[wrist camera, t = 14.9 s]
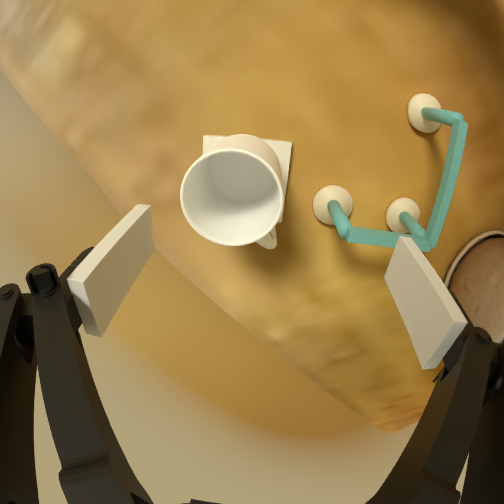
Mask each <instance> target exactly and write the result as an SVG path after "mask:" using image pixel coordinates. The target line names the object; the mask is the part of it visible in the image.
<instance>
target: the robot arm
mask: <svg viewBox="0 0 504 504" xmlns="http://www.w3.org/2000/svg"><path fill="white" fill-rule="evenodd" d="M153 252H154V245H153V233H152V220H151V205H138V204H137V205H136V206H135V207H134V208H133V209H132V210H131V211H130V212H129V213H128V214H127V215H126V216H125V217H124V218H123V219H122V220H121V221H120V222H119V223H118V224H117V225H116V226H115V227H114V228H113V229H112V230H111V231H110V232H109V233H108V234H107V235H106V236H105V238H103V239H102V240H101V242H100V243H99V244H98V245H97V246H96V247H90V248H88V249H87V250H85V251H83V252H82V253H81V254H80V255H79V256H78V257H77V258H76V260H74V261H73V262H72V263H71V265H70V266H69V267H68V268H67V269H66V270H65V271H64V272H63V273H62V275H61V276H60V277H59V278H58V274H57V271H56V268H55V266H54V265H52V264H47V263H45V264H40V265H38V266H35V267H34V268H32V269H31V270H30V271H29V272H28V273H27V275H26V281H27V284H28V286H29V289H30V291H31V293H24V294H22V293H21V291H20V288H19V286H18V285H17V284H6V285H4V286H2V287H1V288H0V504H39V499H38V488H37V480H36V470H35V458H34V430H33V429H34V395H35V381H36V371H37V365H38V371H39V377H40V384H41V389H42V394H43V400H44V404H45V409H46V413H47V417H48V421H49V425H50V429H51V432H52V436H53V439H54V443H55V447H56V450H57V453H58V456H59V459H60V462H61V466H62V470H61V471H60V472H59V481H60V484H61V487H62V490H63V492H64V495H65V497H66V500H67V502H68V504H154V503H153V502H152V500H151V498H150V497H149V496H148V494H147V492H146V491H145V489H144V488H143V487H142V485H141V484H140V483H139V481H138V480H137V478H136V476H135V475H134V473H133V471H132V469H131V467H130V466H129V463H128V462H127V459H126V457H125V455H124V453H123V451H122V449H121V447H120V445H119V443H118V441H117V438H116V436H115V434H114V432H113V429H112V427H111V425H110V423H109V420H108V418H107V415H106V413H105V410H104V408H103V405H102V402H101V400H100V397H99V394H98V392H97V389H96V386H95V383H94V380H93V377H92V374H91V371H90V368H89V365H88V362H87V358H86V355H85V351H84V348H83V344H82V340H81V337H80V334H79V331H78V329H79V327H80V326H81V324H83V327H84V329H85V331H86V333H87V334H91V335H94V336H98V337H102V335H103V333H104V332H105V330H106V328H107V327H108V325H109V323H110V321H111V320H112V317H113V316H114V314H115V313H116V311H117V309H118V308H119V306H120V304H121V303H122V301H123V299H124V298H125V296H126V294H127V293H128V291H129V289H130V288H131V286H132V285H133V283H134V281H135V280H136V278H137V276H138V275H139V273H140V272H141V270H142V269H143V267H144V266H145V264H146V263H147V261H148V260H149V258H150V257H151V255H152V253H153ZM384 279H385V281H386V283H387V285H388V288H389V290H390V292H391V294H392V296H393V299H394V301H395V303H396V305H397V308H398V310H399V312H400V315H401V317H402V319H403V322H404V324H405V326H406V329H407V331H408V334H409V336H410V339H411V341H412V344H413V346H414V349H415V352H416V354H417V357H418V360H419V362H420V365H421V368H422V369H434V368H436V367H437V366H438V364H439V363H440V362H441V360H442V359H443V361H444V364H445V366H444V367H443V369H442V370H441V371H440V372H439V374H438V375H437V376H436V377H435V379H434V380H433V381H432V382H435V381H436V380H437V382H436V385H435V387H434V390H433V392H432V394H431V397H430V399H429V401H428V403H427V406H426V408H425V410H424V412H423V414H422V416H421V418H420V420H419V423H418V425H417V427H416V429H415V430H414V433H413V435H412V436H411V438H410V440H409V442H408V444H407V445H406V447H405V449H404V451H403V453H402V454H401V456H400V458H399V459H398V461H397V463H396V464H395V466H394V468H393V469H392V471H391V472H390V474H389V475H388V477H387V479H386V480H385V482H384V483H383V484H382V486H381V487H380V489H379V490H378V492H377V493H376V494H375V495H374V496H373V497H372V498H371V499H370V500H369V501H367V502H366V503H365V504H458V503H459V500H460V504H504V340H503V341H502V343H501V344H500V343H496V342H493V340H492V338H491V336H490V334H489V333H488V332H487V331H486V330H484V329H483V328H481V327H476V326H475V327H474V325H473V324H472V322H471V320H470V319H469V317H468V315H467V314H466V312H465V310H464V309H463V308H462V305H461V304H460V302H459V301H458V299H457V297H456V296H455V294H454V293H453V292H452V291H451V290H450V289H449V288H447V287H446V286H445V285H444V283H443V282H442V280H441V279H440V277H439V276H438V274H437V273H436V272H435V270H434V269H433V267H432V266H431V264H430V263H429V262H428V260H427V259H426V257H425V256H424V255H423V253H422V252H421V251H420V249H419V248H418V246H417V245H416V244H415V242H414V241H413V240H412V239H411V238H410V237H405V236H399V238H398V241H397V243H396V246H395V249H394V252H393V255H392V257H391V260H390V263H389V265H388V268H387V271H386V273H385V276H384ZM501 380H502V383H501V386H500V388H499V389H498V383H499V382H500V381H501ZM468 453H469V457H468V465H467V471H466V476H465V481H464V486H463V491H462V495H460V492H459V491H458V490H456V484H457V482H458V479H459V477H460V474H461V472H462V469H463V467H464V464H465V462H466V459H467V456H468ZM460 497H461V499H460ZM183 504H219V503H212V502H206V501H199V500H193V499H191V501H190V503H183Z"/></svg>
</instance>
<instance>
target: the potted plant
mask: <svg viewBox="0 0 504 504" xmlns="http://www.w3.org/2000/svg"><path fill="white" fill-rule="evenodd" d="M444 285H445V286H446V287H447V288H449V289H450V290H451V291H452V292H453V293H454V294H455V296H456V297H457V299H458V301H459V302H460V304H461V305H462V308H463V309H464V310H465V312H466V314H467V315H468V317H469V319H470V320H471V322H472V324H473V325H474V327H475V326H476V327H481V328H483V329H484V330H486V331H487V332H488V333H489V334H490V336H491V338H492V340H493V342H496V343H500V344H501V343H502V341H503V340H504V232H503V231H502V230H490V231H486V232H483V233H480V234H479V235H477V236H475V237H474V238H472V239H471V240H470V241H469V242H467V243H466V245H465V246H464V247H463V248H462V249H461V250H460V251H459V252H458V253H457V255H456V257H455V258H454V260H453V261H452V263H451V265H450V267H449V269H448V271H447V274H446V277H445V282H444ZM501 383H502V380H501V381H500V382H499V383H498V389H499V388H500V386H501Z"/></svg>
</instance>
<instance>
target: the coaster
mask: <svg viewBox="0 0 504 504" xmlns="http://www.w3.org/2000/svg"><path fill="white" fill-rule="evenodd" d="M226 137H229V136H219V135H204V139H203V154H205V153H206V152H207V151H208V150H209V149H210V148H212V147H213V146H214V145H215V144H216V143H218V142H219V141H221V140H222V139H224V138H226ZM260 139H261V138H260ZM262 140H263V141H265V142H266V143H267V144H268V145H269V146H270V147H271V148H272V149H273V150H274V152H275V153H276V155H277V157H278V160H279V163H280V169H281V177H282V186H283V194H284V203H285V195H286V187H287V179H288V171H289V163H290V155H291V146H292V142H289V141H281V140H271V139H262ZM284 203H283V209H282V213H281V216H280V218H279V220H278V222H279V223H282V218H283V210H284Z"/></svg>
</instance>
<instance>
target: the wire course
mask: <svg viewBox="0 0 504 504" xmlns="http://www.w3.org/2000/svg"><path fill="white" fill-rule="evenodd" d="M407 117H408V120H409V122H410V123H411V125H412V126H413V127H414V128H415V129H417V130H419V131H421V132H425V133H431V132H434V131H435V130H437V129H438V128H439V126H440V124H441V123H442V124H446V125H450V126H452V130H451V136H450V141H449V146H448V151H447V156H446V161H445V165H444V170H443V174H442V178H441V182H440V186H439V190H438V193H437V197H436V200H435V204H434V207H433V211H432V214H431V217H430V221H429V224H428V227H427V230H426V231H425V230H424V229H423V228H422V227H421V226H420V225H419V224H418V221H419V218H420V210H419V207H418V205H417V204H416V203H415V202H414V201H413V200H412V199H410V198H408V197H399V198H397V199H395V200H393V201H392V202H391V203H390V204H389V206H388V207H387V210H386V213H385V220H386V223H387V225H388V227H389V228H390V229H391V230H392V231H393V232H389V231H382V230H375V229H367V228H360V227H352V225H351V223H350V221H349V220H348V217H349V215H350V214H351V212H352V208H353V201H352V198H351V196H350V194H349V193H348V192H347V190H346V189H344V188H343V187H341V186H339V185H327V186H324V187H322V188H321V189H319V190H318V191H317V193H316V194H315V196H314V198H313V203H312V205H313V210H314V213H315V215H316V217H317V218H318V219H319V220H320V221H321V222H323V223H325V224H329V225H335V226H336V229H337V231H338V233H339V236H340V237H341V238H343V239H346V240H347V242H351V243H359V244H368V245H376V246H384V247H392V248H395V246H396V243H397V241H398V238H399V236H405V237H410V238H411V239H412V240H413V241H414V242H415V244H416V245H417V246H418V248H419V249H420V251H423V252H430V249H431V248H435V247H436V245H437V242H438V239H439V236H440V234H441V231H442V228H443V225H444V222H445V219H446V215H447V212H448V209H449V206H450V202H451V199H452V195H453V192H454V188H455V184H456V180H457V176H458V172H459V168H460V164H461V159H462V155H463V150H464V145H465V140H466V134H467V128H468V123H466V122H464V117H463V115H462V114H460V113H457V112H452V111H447V110H442V109H441V106H440V104H439V103H438V101H437V100H436V99H435V98H434V97H433V96H431V95H429V94H416V95H414V96H413V97H411V99H410V100H409V102H408V104H407ZM408 232H410V233H411V235H409V234H405V233H408Z"/></svg>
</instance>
